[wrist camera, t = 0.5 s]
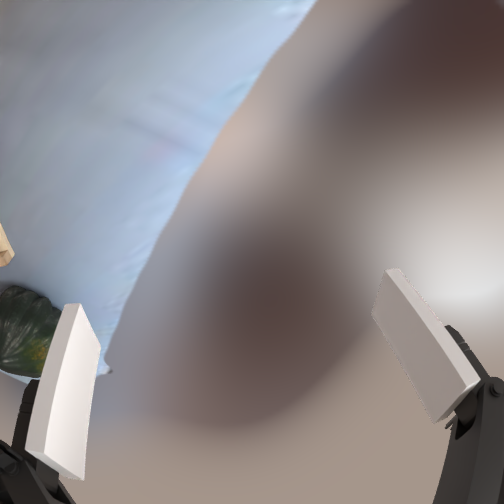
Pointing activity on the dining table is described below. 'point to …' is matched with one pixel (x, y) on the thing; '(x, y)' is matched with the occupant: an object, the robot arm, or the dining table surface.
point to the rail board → (5, 249)
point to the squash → (25, 331)
